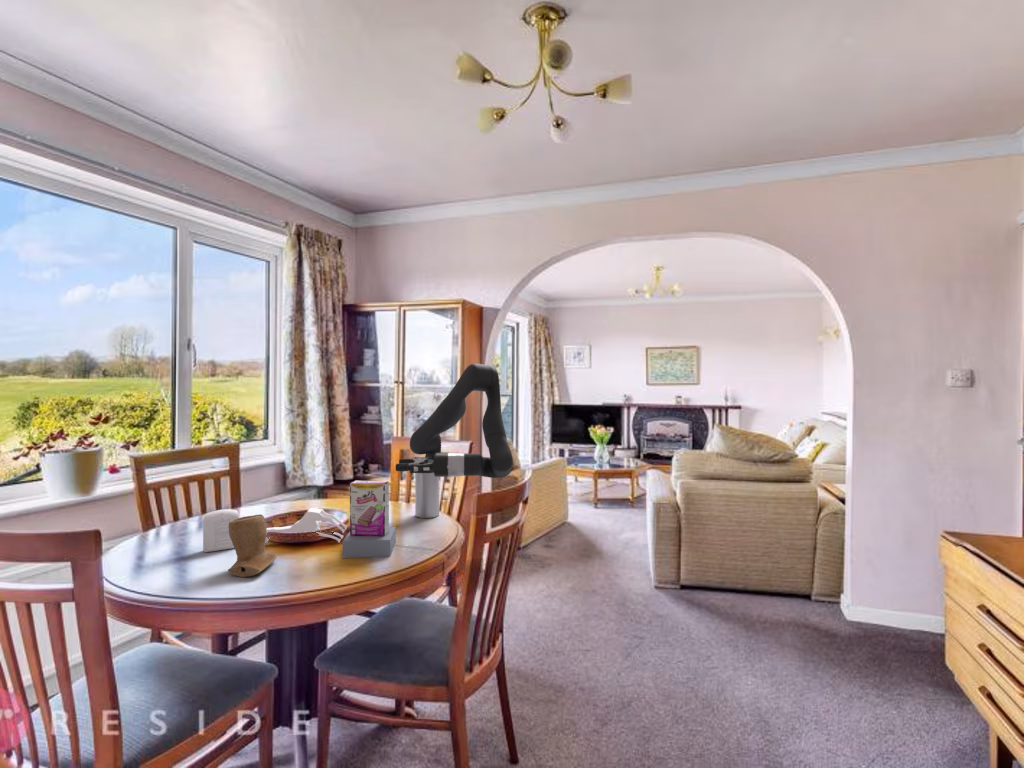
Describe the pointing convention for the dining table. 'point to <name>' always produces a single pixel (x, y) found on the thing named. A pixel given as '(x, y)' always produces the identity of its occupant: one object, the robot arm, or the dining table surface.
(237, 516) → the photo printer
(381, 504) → the candy bar box
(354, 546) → the slate block
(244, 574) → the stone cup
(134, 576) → the dining table surface
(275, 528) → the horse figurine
